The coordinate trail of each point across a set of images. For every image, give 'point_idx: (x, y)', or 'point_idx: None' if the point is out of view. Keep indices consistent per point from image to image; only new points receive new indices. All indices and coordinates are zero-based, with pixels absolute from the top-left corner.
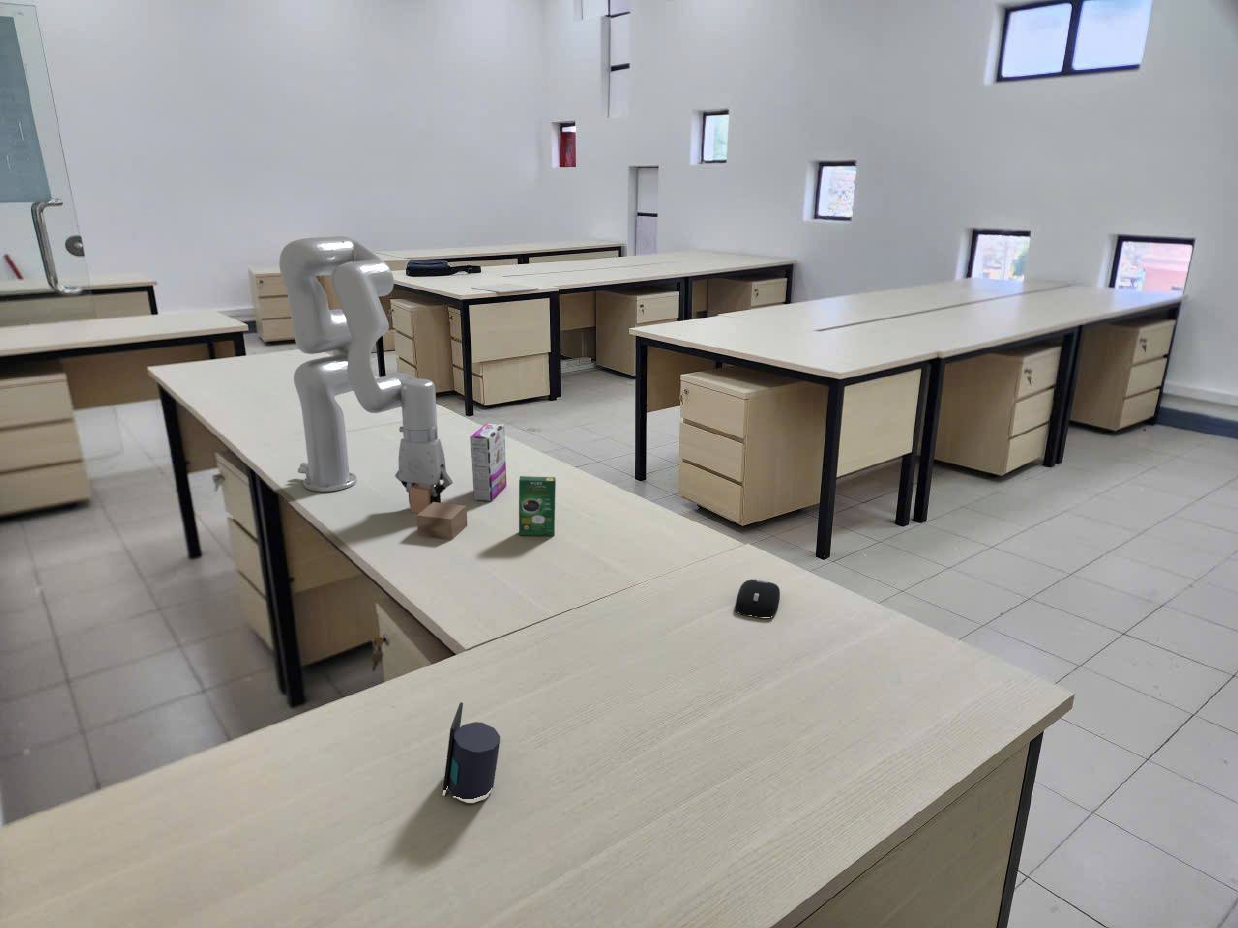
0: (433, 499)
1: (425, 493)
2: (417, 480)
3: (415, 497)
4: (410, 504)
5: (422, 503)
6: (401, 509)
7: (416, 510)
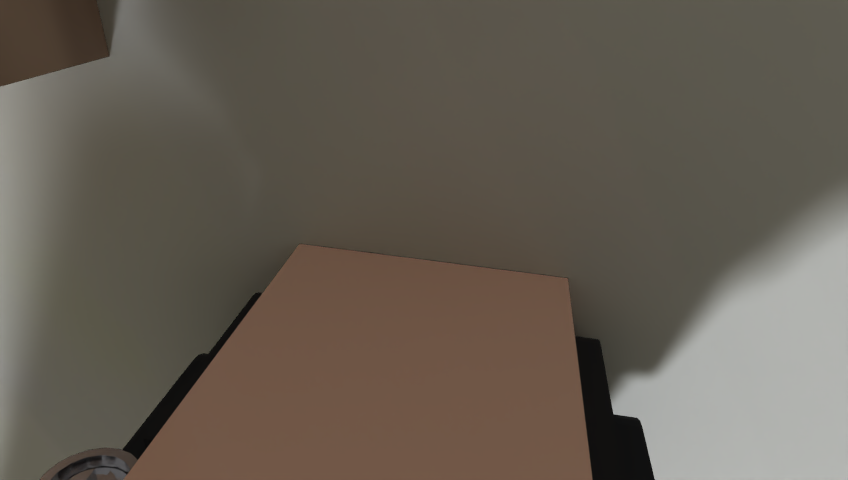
0: None
1: (195, 457)
2: None
3: (462, 410)
4: (574, 337)
5: (348, 335)
6: (729, 321)
7: (479, 283)
